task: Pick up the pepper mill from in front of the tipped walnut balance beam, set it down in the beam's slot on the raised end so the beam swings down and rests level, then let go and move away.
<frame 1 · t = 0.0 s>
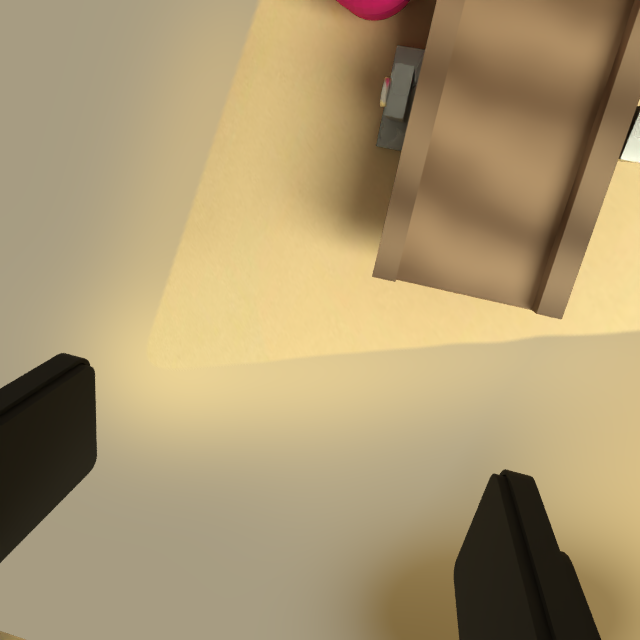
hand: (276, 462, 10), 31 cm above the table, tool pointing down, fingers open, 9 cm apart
balance beam: (522, 84, 28), point 6 cm above the table, hinge at -8.0°
beam stand: (497, 118, 34), on the table
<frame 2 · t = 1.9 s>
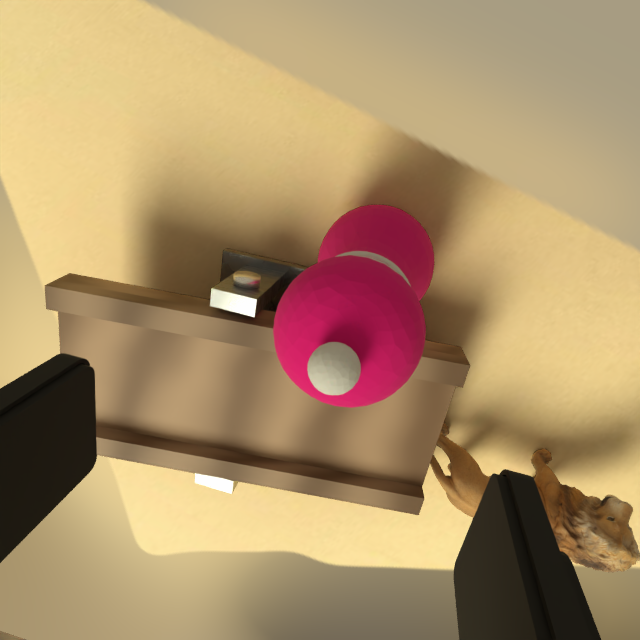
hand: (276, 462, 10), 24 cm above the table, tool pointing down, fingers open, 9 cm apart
balance beam: (250, 398, 32), point 6 cm above the table, hinge at -8.0°
lion figurine: (506, 452, 36), on the table
beam stand: (257, 356, 38), on the table
pepper mill: (381, 248, 33), on the table
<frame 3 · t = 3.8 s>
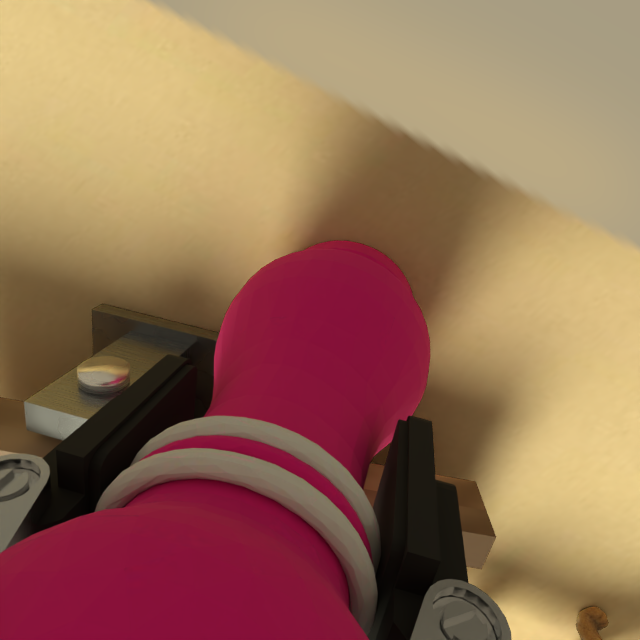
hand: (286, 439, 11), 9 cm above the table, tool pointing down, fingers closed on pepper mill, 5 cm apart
balance beam: (126, 563, 19), point 6 cm above the table, hinge at -7.9°, touching lion figurine
lion figurine: (535, 606, 24), on the table, touching balance beam
beam stand: (162, 460, 25), on the table
pepper mill: (342, 309, 20), on the table, touching gripper
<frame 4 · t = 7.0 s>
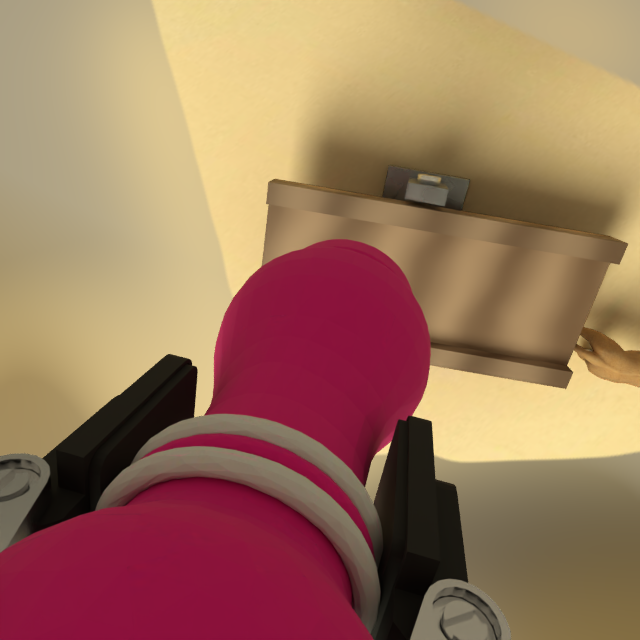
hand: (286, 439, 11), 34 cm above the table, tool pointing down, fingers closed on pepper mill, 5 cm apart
balance beam: (424, 286, 37), point 6 cm above the table, hinge at -7.7°, touching lion figurine
lion figurine: (627, 340, 42), on the table, touching balance beam
beam stand: (406, 264, 43), on the table
pepper mill: (342, 307, 20), point 24 cm above the table, touching gripper
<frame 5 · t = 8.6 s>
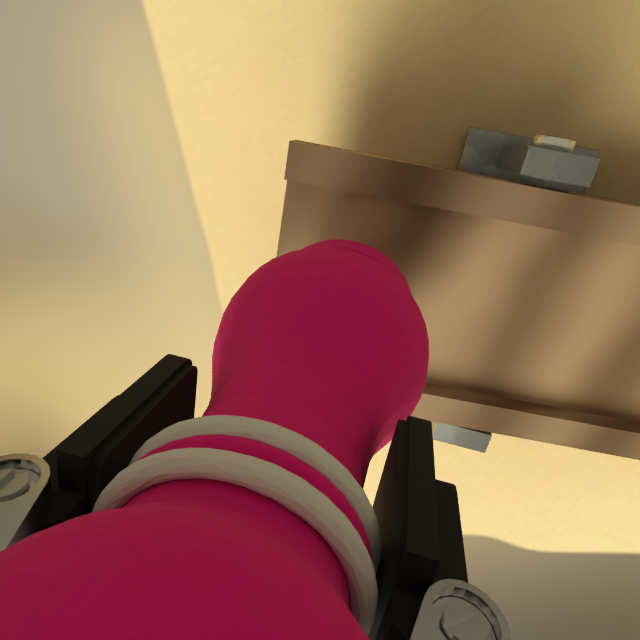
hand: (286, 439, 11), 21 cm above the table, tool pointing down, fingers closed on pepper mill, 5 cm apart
balance beam: (533, 319, 23), point 6 cm above the table, hinge at -7.7°
beam stand: (484, 279, 29), on the table
pepper mill: (341, 308, 20), point 11 cm above the table, touching gripper
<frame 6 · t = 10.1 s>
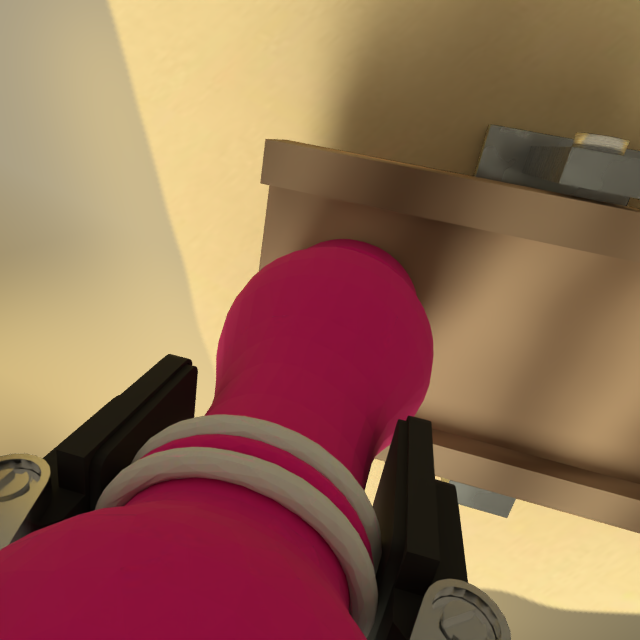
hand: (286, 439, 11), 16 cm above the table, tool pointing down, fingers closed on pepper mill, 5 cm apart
balance beam: (566, 361, 19), point 6 cm above the table, hinge at 0.3°, touching pepper mill
beam stand: (504, 304, 25), on the table
pepper mill: (346, 307, 20), point 6 cm above the table, touching balance beam, gripper
when the fingers open (16 cm above the table, at t = 10.1 s): pepper mill stays where it is, resting on balance beam.
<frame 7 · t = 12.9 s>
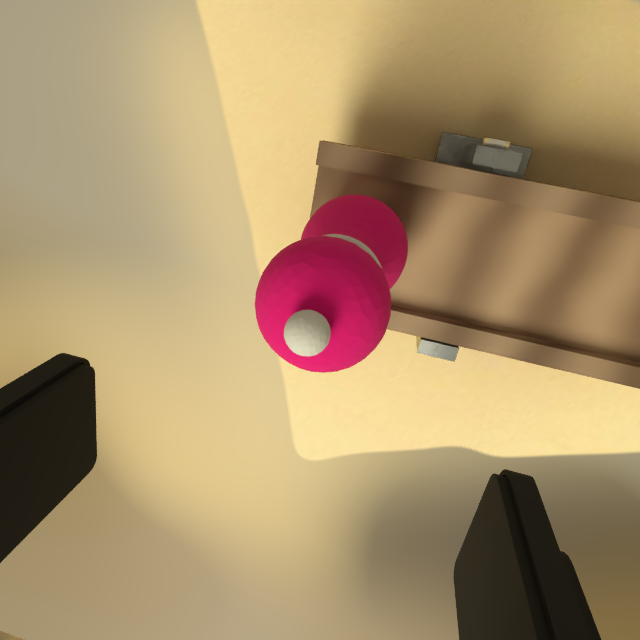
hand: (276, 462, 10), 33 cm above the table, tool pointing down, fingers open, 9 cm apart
balance beam: (483, 264, 34), point 6 cm above the table, hinge at 0.4°, touching pepper mill
beam stand: (455, 242, 40), on the table
pepper mill: (360, 237, 35), point 6 cm above the table, touching balance beam
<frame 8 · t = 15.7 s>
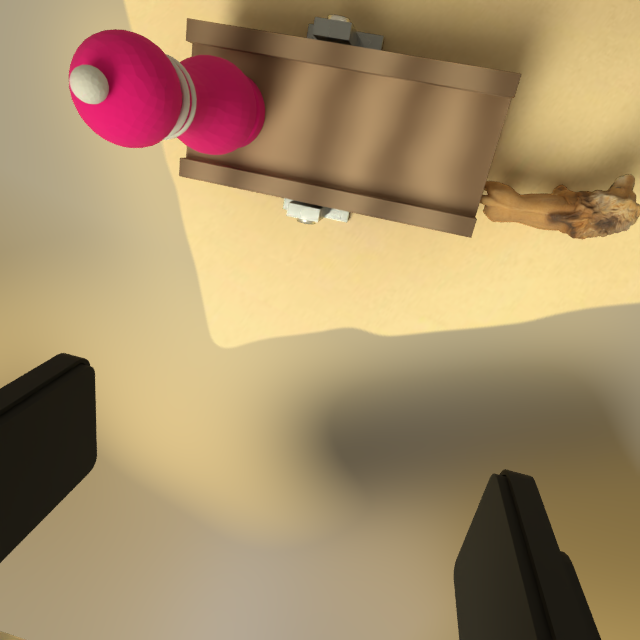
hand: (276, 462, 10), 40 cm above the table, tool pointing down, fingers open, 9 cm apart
balance beam: (334, 130, 39), point 6 cm above the table, hinge at 0.6°, touching pepper mill
lion figurine: (530, 197, 44), on the table
beam stand: (330, 129, 45), on the table
pepper mill: (233, 110, 40), point 6 cm above the table, touching balance beam
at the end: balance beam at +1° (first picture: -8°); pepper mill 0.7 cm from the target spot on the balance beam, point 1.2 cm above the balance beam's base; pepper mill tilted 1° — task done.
